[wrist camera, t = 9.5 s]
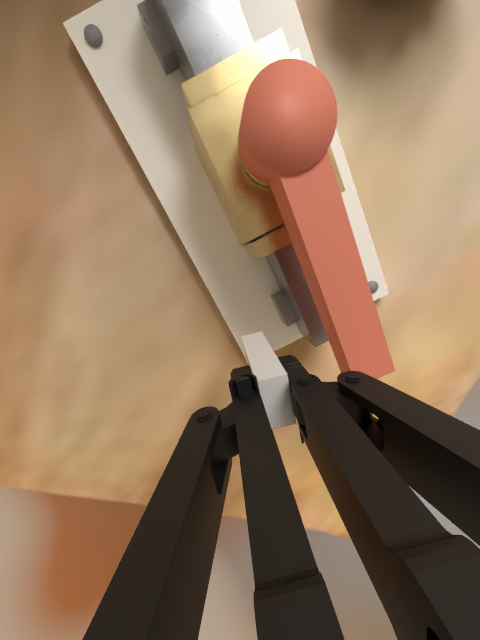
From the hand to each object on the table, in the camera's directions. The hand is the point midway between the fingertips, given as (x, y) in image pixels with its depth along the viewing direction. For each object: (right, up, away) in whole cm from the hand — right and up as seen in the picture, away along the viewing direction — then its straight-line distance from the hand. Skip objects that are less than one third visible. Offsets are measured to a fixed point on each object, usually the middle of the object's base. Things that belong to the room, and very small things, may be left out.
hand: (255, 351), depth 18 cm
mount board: (0, +14, +5) cm, 15 cm away
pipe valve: (0, +14, +5) cm, 15 cm away
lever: (+4, +7, -2) cm, 8 cm away
